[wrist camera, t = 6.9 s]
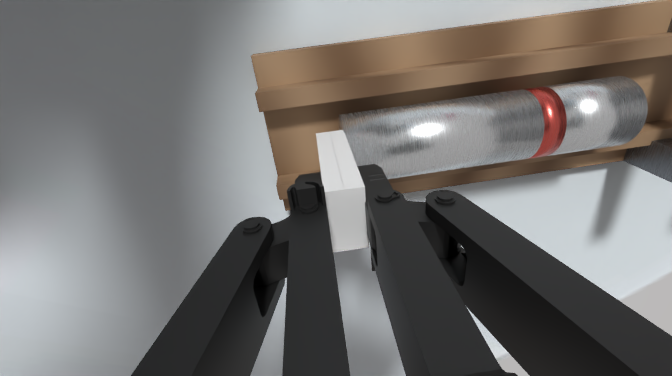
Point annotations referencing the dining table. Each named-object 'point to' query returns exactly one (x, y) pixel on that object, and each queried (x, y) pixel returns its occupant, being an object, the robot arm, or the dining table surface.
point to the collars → (653, 154)
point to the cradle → (465, 81)
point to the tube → (497, 126)
